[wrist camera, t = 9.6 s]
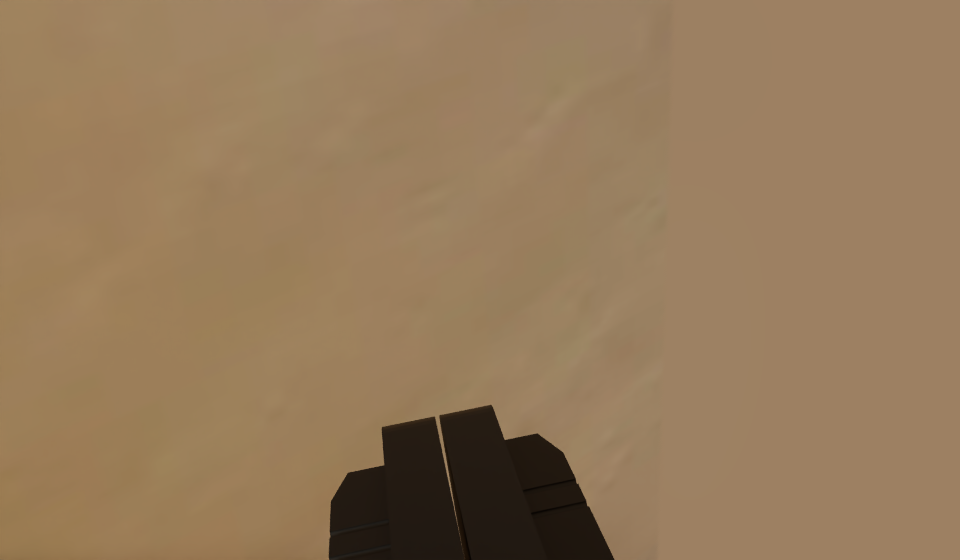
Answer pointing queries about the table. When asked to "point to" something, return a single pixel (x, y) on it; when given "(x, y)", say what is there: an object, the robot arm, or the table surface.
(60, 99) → the table surface
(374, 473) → the robot arm
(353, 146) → the table surface
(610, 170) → the table surface
